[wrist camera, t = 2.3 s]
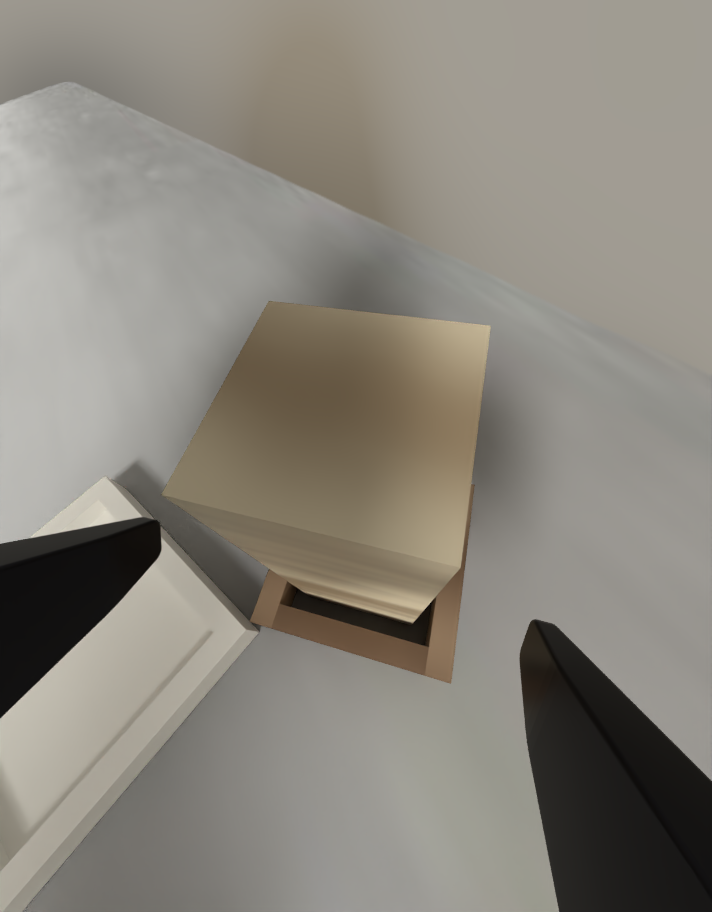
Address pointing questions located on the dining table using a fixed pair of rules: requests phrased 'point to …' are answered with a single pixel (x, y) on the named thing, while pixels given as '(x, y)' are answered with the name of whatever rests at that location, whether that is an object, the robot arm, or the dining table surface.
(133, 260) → the dining table surface
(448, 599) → the walnut collar
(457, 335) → the tan wooden block
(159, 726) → the tray
